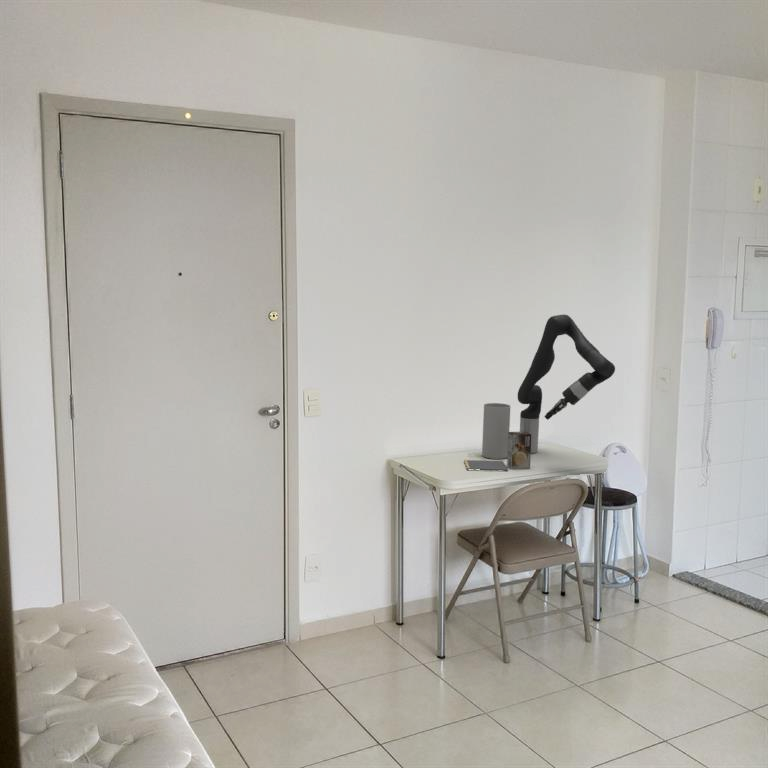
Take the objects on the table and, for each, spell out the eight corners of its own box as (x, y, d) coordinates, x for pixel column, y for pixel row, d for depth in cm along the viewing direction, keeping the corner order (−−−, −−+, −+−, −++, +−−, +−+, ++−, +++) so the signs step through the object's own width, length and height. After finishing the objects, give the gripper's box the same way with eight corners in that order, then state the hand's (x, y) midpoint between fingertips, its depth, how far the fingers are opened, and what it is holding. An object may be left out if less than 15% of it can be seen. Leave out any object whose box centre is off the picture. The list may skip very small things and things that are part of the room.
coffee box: (525, 465, 364) (526, 431, 362) (530, 468, 358) (532, 434, 356) (506, 465, 362) (507, 431, 360) (511, 469, 356) (512, 434, 354)
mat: (464, 461, 368) (464, 459, 368) (502, 462, 368) (502, 460, 368) (467, 470, 352) (467, 468, 352) (507, 471, 352) (507, 468, 352)
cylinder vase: (476, 455, 381) (478, 404, 378) (495, 452, 389) (497, 402, 385) (494, 460, 371) (497, 408, 368) (513, 457, 379) (515, 406, 375)
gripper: (571, 383, 355) (542, 408, 360) (568, 388, 342) (539, 413, 347) (582, 396, 354) (553, 420, 360) (580, 401, 341) (550, 426, 346)
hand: (546, 417), depth 353 cm, fingers open, 5 cm apart
